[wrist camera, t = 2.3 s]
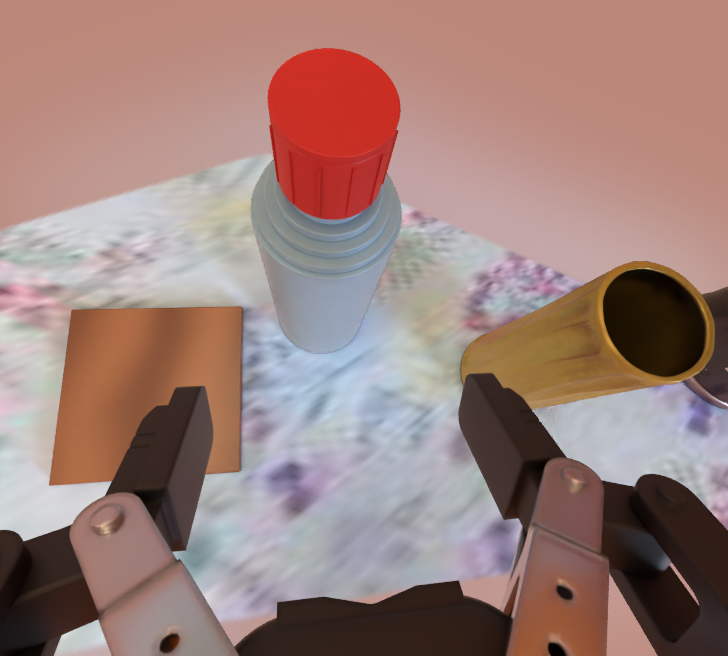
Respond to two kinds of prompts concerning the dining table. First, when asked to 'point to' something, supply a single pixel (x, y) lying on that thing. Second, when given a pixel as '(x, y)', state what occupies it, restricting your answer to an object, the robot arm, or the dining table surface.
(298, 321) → the bottle
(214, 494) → the dining table surface
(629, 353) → the vase
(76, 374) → the coaster
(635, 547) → the robot arm
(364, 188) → the cap
